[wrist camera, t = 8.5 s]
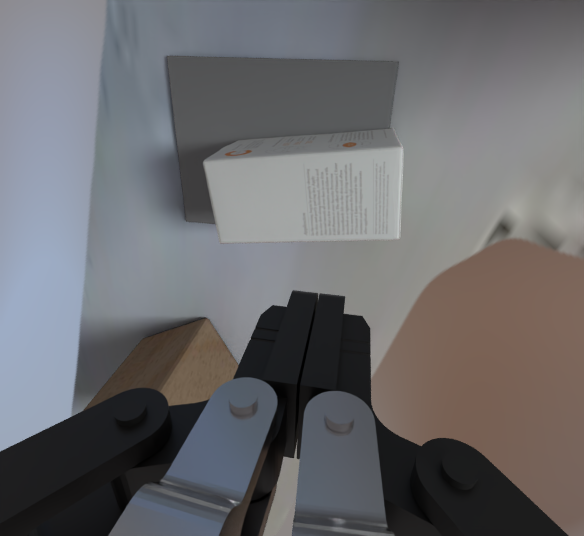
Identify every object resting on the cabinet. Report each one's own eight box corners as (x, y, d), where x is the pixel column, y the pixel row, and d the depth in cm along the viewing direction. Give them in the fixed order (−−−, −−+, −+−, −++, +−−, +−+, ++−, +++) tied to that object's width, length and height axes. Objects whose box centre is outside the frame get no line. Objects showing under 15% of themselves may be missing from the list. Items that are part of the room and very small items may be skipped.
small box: (393, 204, 32) (248, 209, 34) (395, 126, 29) (237, 138, 32) (400, 243, 25) (217, 245, 27) (404, 145, 22) (199, 158, 25)
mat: (398, 61, 27) (398, 61, 27) (373, 236, 34) (373, 238, 34) (169, 56, 30) (166, 55, 29) (187, 220, 36) (186, 221, 36)
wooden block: (250, 379, 45) (178, 572, 28) (185, 395, 49) (85, 577, 31) (208, 315, 42) (96, 490, 24) (141, 337, 45) (1, 505, 28)
